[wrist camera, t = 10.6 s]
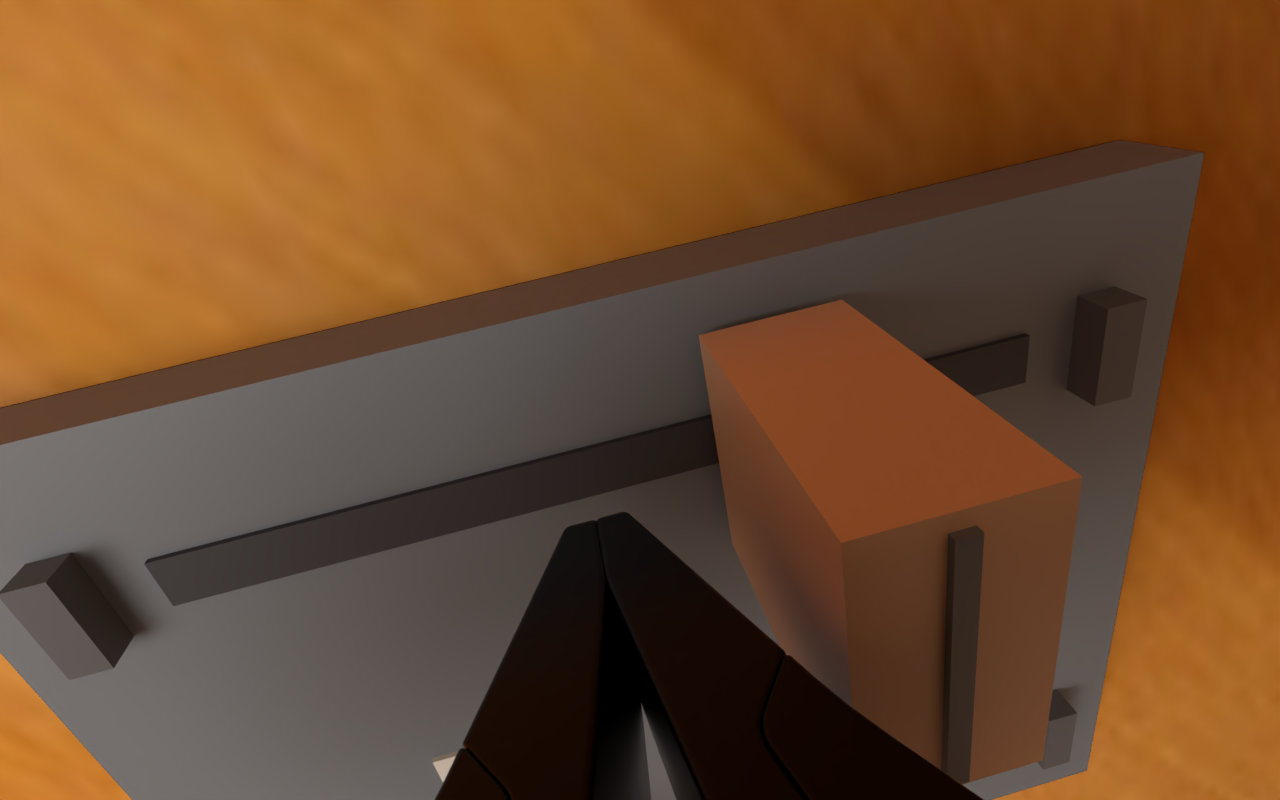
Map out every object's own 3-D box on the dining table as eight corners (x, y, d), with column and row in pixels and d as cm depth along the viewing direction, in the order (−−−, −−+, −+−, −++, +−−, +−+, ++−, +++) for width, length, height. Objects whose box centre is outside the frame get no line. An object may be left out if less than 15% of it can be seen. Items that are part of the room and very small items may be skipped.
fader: (853, 511, 11) (1049, 769, 7) (732, 543, 11) (863, 825, 7) (842, 299, 9) (1092, 482, 5) (698, 334, 9) (847, 551, 5)
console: (1042, 716, 18) (1106, 795, 16) (331, 928, 16) (309, 1039, 14) (1119, 140, 11) (1245, 158, 9) (-65, 423, 10) (-197, 511, 8)
